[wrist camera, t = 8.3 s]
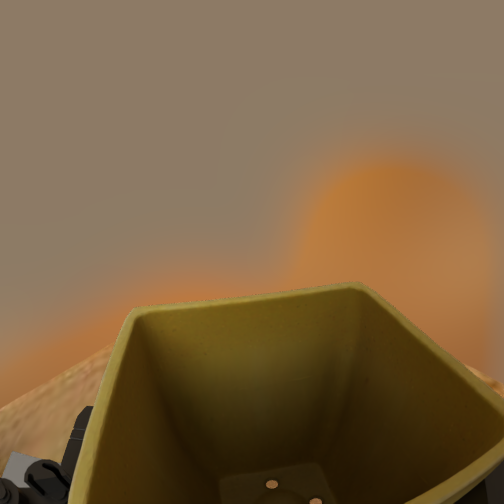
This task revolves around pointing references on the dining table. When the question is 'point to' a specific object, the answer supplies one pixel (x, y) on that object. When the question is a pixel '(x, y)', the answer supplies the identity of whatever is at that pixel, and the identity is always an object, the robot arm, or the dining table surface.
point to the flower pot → (285, 406)
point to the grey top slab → (18, 468)
